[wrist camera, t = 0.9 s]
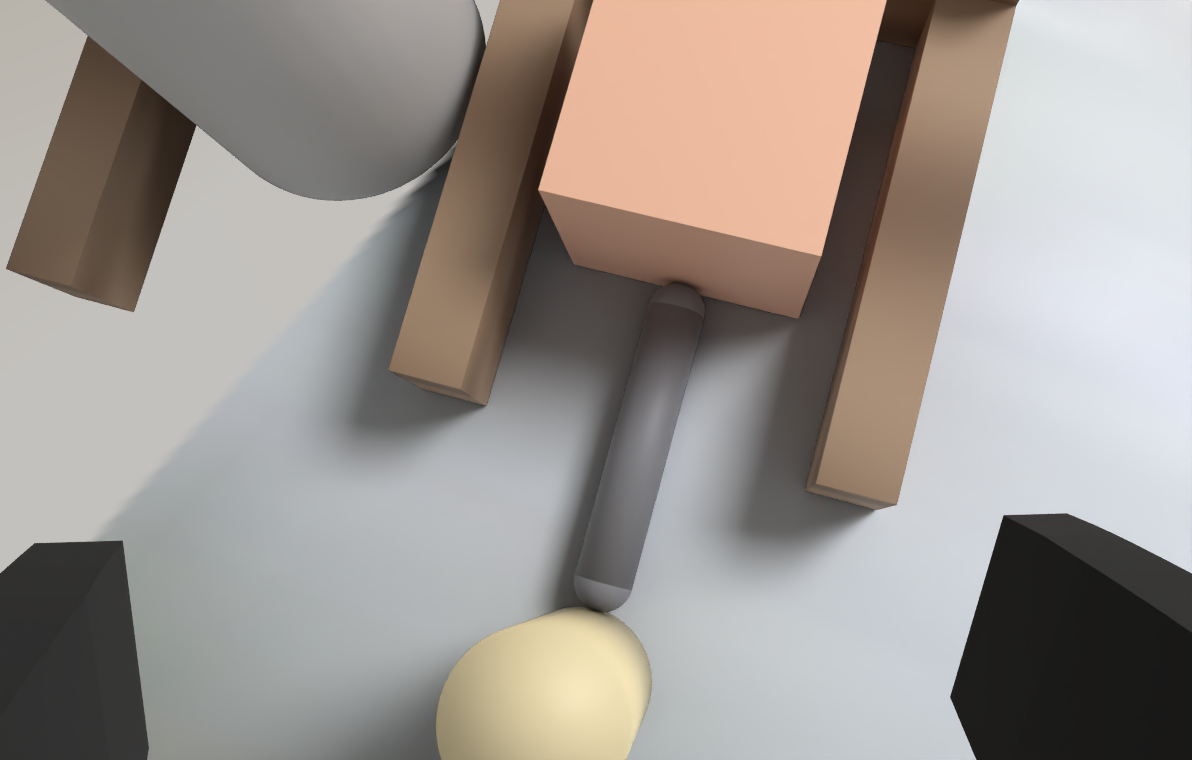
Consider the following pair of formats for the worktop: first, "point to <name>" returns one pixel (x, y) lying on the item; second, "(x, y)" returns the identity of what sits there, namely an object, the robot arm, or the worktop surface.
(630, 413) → the grey rod with ends
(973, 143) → the lane organiser
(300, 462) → the worktop surface
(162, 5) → the beverage can
